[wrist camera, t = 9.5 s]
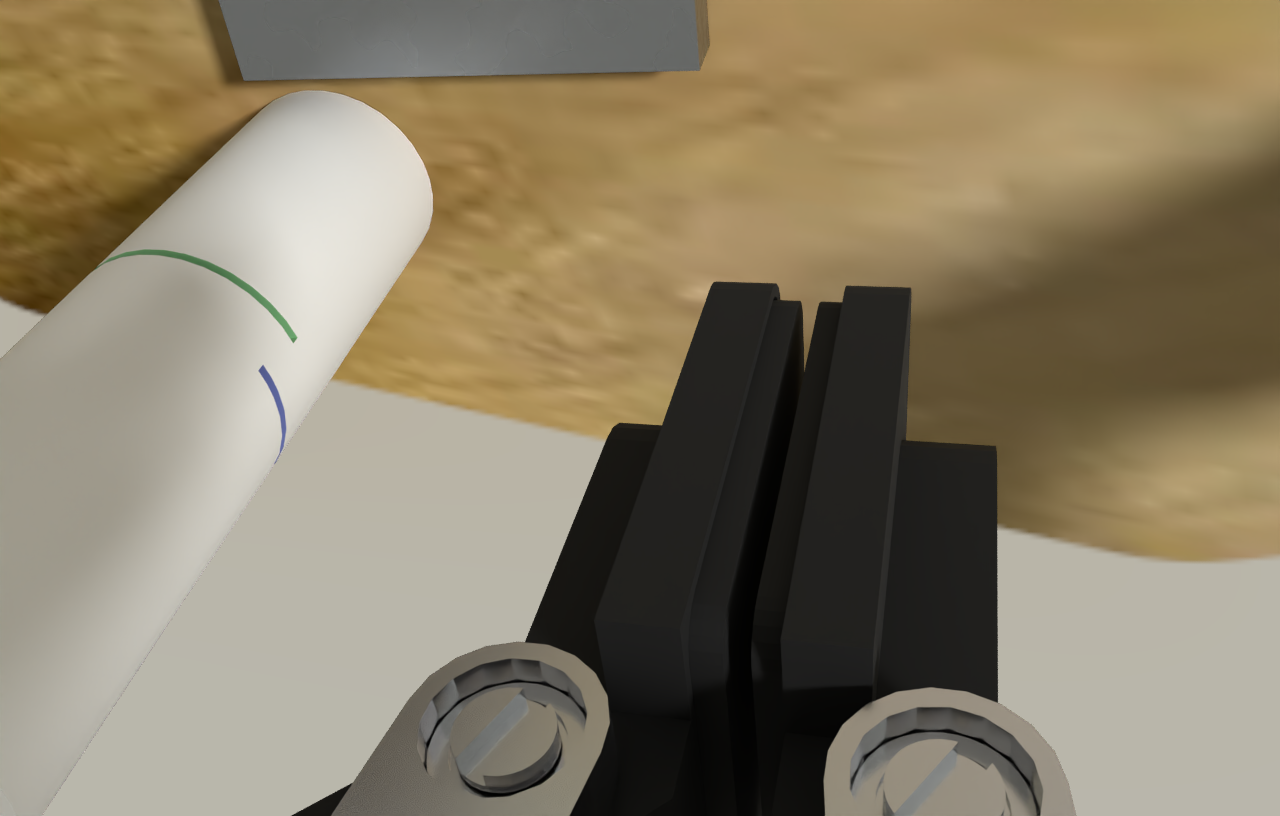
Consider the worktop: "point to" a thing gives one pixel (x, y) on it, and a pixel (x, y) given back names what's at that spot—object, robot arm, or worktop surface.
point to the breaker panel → (463, 37)
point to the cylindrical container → (178, 404)
